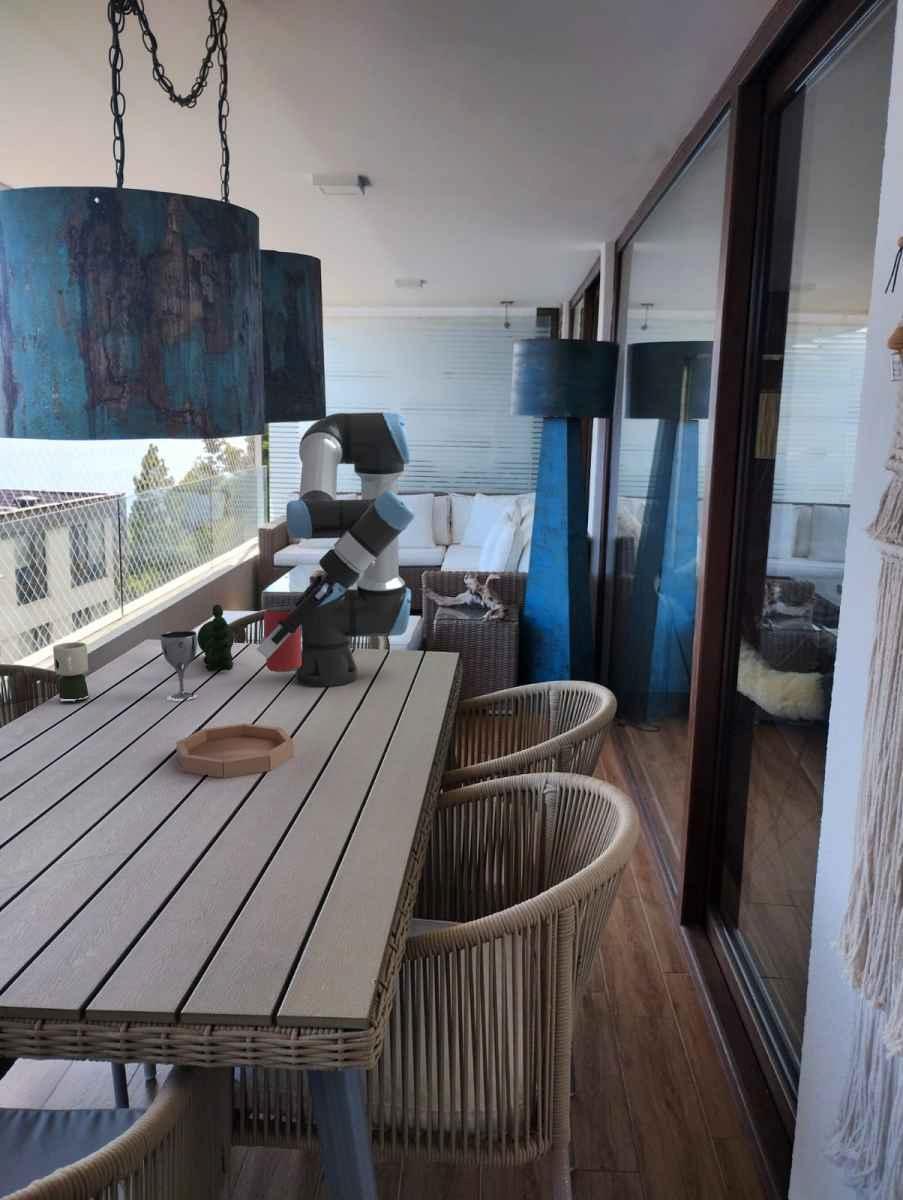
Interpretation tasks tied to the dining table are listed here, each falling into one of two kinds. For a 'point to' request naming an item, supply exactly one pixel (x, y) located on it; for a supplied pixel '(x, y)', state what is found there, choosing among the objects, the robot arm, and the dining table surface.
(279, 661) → the beer can
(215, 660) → the toy figurine
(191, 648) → the wine glass
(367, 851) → the dining table surface
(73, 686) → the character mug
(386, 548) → the robot arm
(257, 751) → the terracotta saucer
